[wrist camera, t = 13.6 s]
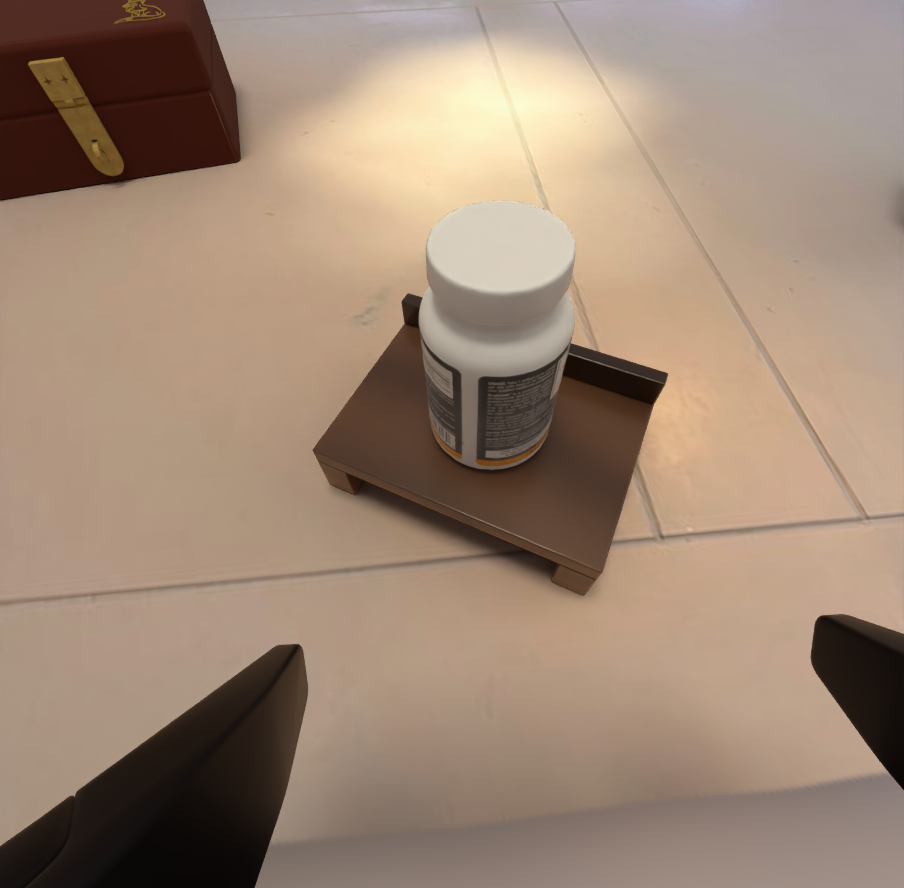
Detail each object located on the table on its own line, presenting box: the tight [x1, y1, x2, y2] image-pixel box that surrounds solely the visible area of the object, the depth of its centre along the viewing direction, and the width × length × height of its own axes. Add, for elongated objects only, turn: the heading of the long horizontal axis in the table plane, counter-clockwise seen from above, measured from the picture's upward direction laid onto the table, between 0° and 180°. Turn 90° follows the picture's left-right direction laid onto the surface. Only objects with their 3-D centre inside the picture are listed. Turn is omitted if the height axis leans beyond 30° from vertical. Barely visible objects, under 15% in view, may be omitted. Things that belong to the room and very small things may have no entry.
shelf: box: [313, 293, 668, 595], centre depth 24 cm, size 10×14×5 cm
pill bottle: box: [419, 201, 576, 470], centre depth 19 cm, size 6×6×10 cm
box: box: [0, 0, 240, 200], centre depth 42 cm, size 21×16×10 cm
